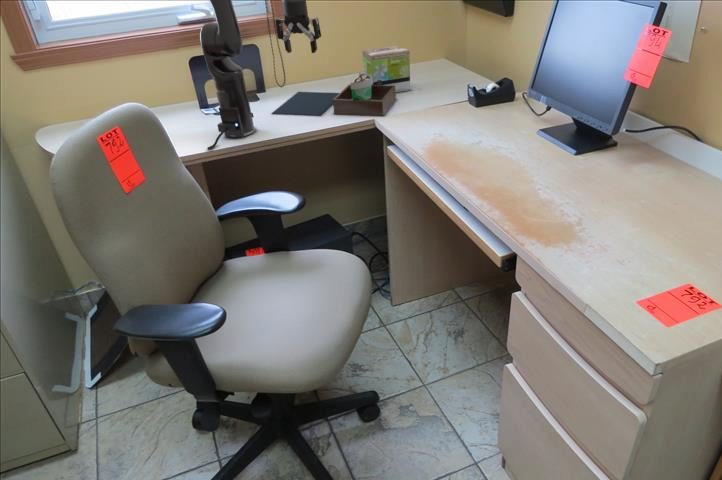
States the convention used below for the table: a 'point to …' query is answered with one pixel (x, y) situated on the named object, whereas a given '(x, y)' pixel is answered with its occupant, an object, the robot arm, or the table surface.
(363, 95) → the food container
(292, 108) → the desk mat
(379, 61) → the tea box
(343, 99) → the crate
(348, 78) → the table surface
